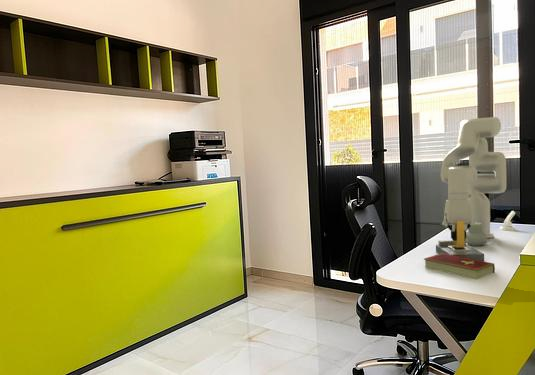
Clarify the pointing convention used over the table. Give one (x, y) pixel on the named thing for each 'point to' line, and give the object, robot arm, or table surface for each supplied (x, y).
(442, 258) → the hardcover book
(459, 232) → the brass peg in socket
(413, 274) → the table surface
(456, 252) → the grey box with slot
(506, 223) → the hook
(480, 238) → the air freshener
